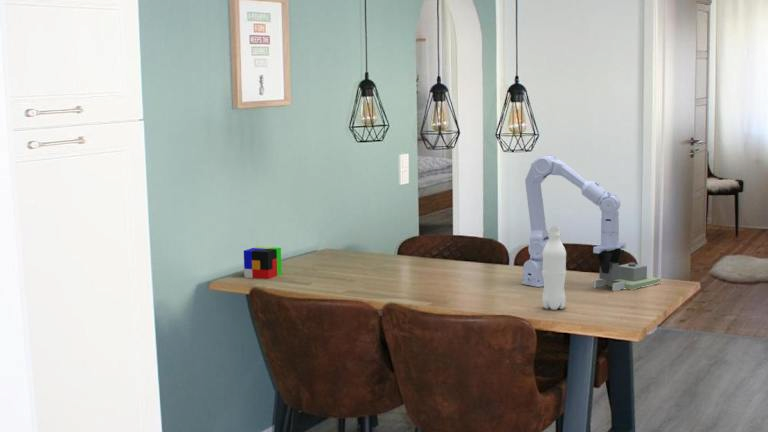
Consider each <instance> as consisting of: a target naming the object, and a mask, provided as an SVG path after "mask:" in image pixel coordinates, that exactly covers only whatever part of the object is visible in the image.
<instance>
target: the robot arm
mask: <svg viewBox="0 0 768 432" xmlns="http://www.w3.org/2000/svg"><path fill="white" fill-rule="evenodd" d="M550 175H551V176H559V177H562V178H564V179H566V180H567V181H568V182H570V183H571V184H573V185H575V186H576V187H577V188H579V189H580V190H581V195H582V196H584V197H585V198H586V199H587V200H589V201H590V202H592V203H593V204H594V205H595V206H598V207H599V210H600V212H601V218H600V219H601V220H600V244H599V245H596V246H593V249H592V250H593V251H592V252H593V254H595V256H596V258H597V260H598V262H599V267H600V266H601V270H602V273H606V274H607V273H608V272H609V263H610V262H615V263H619V264H620V261H621V260H622V257H623V256H624V254H625V250H624V249H626V247H627V246H626V245H627V243H626V242H622V241H619V240H620V239H619V237H620V236H619V235H620V234H619V233H620V231H619V228H620V218H619V214H620V213H619V211H620V210H619V209H620V207H621V200H620V198H619V197H618V196H617V195H615V194H611V193H612V192H611V191H610V190H608V191H607V190H606V189H605V188H603V187H602V186H601V185H600V183H599V182H598V181H594V180H589V181H587V180H586V179H585V178H584V177H582V175H580V174H578V172H576V171H575V170H574V169H572V168H571V167H570V166H569V165H568V164H566V163H565V162H564V161H562V160H561V159H559V158H556V156H554V155H552V154H545V156H544V155H543V156H539V157H537V158H535V160H534V161H533V162H532V163H531V164H530V168H529V170H528V172H527V175H526V177H525V179H524V180H525V181H524V183H525V192H526V197H527V198H526V199H527V208H528V215H529V216H528V218H529V223H530V235H529V245H528V246H527V247H528V254H529V255H530V256H529V259H528V260H526V261H525V262H524V263H523V269H522V270H523V271H522V273H523V274H522V276H523V277H522V278H523V279H522V280H523V281H522V282H521V284H522V285H525V286H531V287H537V288H541V287H544V279H543V275H542V270H543V255H542V253H543V249H544V247H545V245H546V243H547V242H548V239H549V235H548V234H549V232H548V229H547V225H546V217H545V207H544V200H543V190H542V183H543V182H544V181H545V179H547V177H548V176H550Z"/></svg>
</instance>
